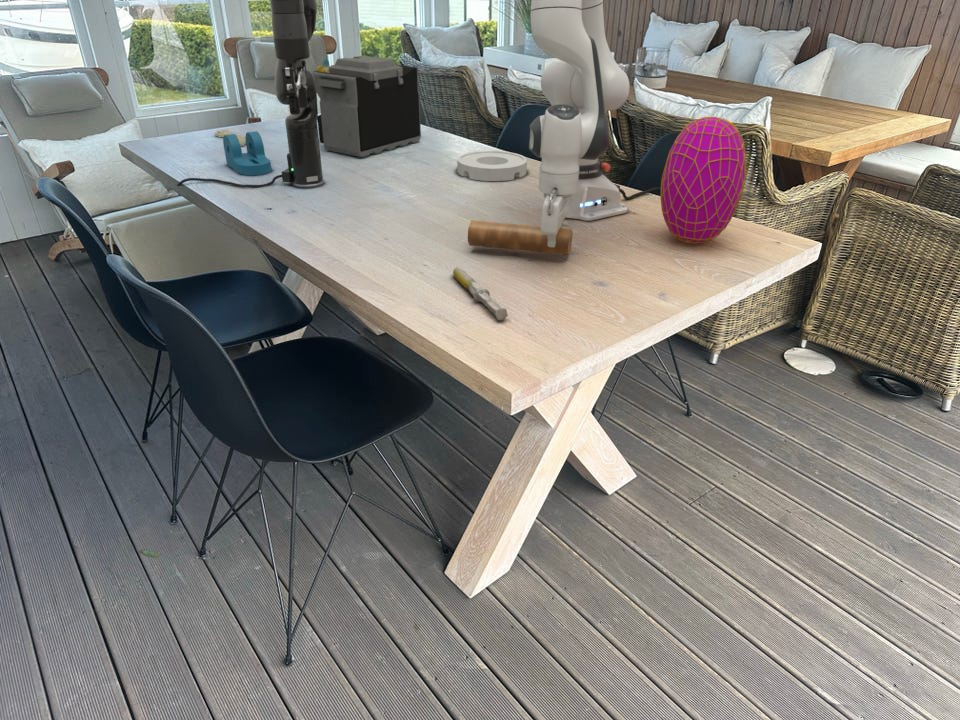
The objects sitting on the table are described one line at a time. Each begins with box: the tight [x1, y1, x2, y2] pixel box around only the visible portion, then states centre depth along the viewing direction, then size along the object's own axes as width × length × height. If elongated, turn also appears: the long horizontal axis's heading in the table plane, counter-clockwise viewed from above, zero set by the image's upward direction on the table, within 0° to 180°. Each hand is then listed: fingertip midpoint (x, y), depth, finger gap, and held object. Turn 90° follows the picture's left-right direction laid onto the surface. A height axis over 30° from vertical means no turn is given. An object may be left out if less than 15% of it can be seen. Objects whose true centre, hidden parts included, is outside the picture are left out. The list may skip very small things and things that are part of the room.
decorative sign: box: [214, 129, 246, 147], centre depth 266 cm, size 26×1×10 cm
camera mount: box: [222, 131, 272, 176], centre depth 226 cm, size 18×10×10 cm, turn 35°
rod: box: [467, 219, 573, 256], centre depth 163 cm, size 24×6×6 cm, turn 75°
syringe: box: [452, 266, 509, 321], centre depth 145 cm, size 25×4×3 cm, turn 21°
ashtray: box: [456, 150, 528, 182], centre depth 228 cm, size 23×23×4 cm
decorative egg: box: [659, 116, 747, 244], centre depth 167 cm, size 19×19×30 cm
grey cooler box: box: [310, 55, 422, 159], centre depth 250 cm, size 37×22×30 cm, turn 144°
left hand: (299, 110), depth 163 cm, fingers open, 8 cm apart
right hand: (554, 240), depth 162 cm, fingers closed on rod, 6 cm apart
